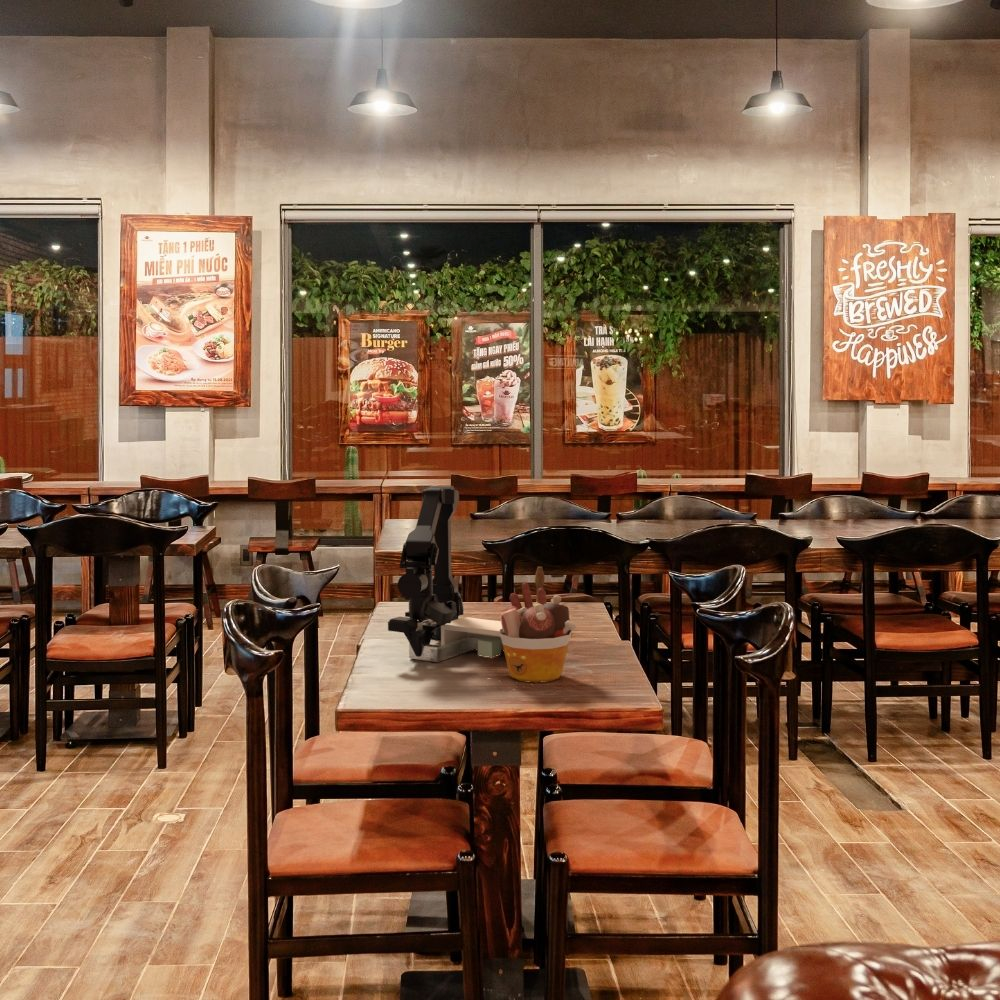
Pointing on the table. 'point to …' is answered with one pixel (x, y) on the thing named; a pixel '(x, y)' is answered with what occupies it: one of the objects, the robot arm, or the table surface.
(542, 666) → the bucket of meat
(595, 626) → the table surface
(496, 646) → the mint cube
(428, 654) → the pale grey angled bracket
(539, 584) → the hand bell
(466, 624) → the low cubby
